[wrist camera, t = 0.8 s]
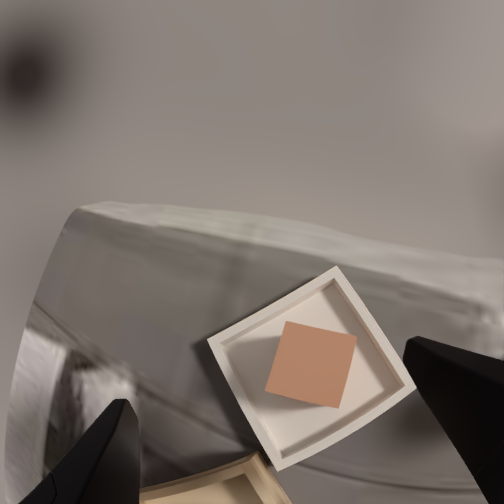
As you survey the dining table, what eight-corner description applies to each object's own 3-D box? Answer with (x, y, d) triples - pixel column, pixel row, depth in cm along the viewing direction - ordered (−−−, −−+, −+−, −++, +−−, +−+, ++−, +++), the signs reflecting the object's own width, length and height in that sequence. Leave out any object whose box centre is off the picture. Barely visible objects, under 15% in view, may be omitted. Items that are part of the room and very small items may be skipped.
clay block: (348, 347, 22) (357, 336, 18) (332, 404, 20) (338, 408, 16) (290, 334, 24) (285, 320, 19) (273, 390, 22) (264, 390, 18)
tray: (409, 387, 20) (417, 387, 18) (280, 465, 19) (277, 471, 17) (335, 274, 26) (336, 265, 24) (214, 343, 25) (206, 339, 24)
